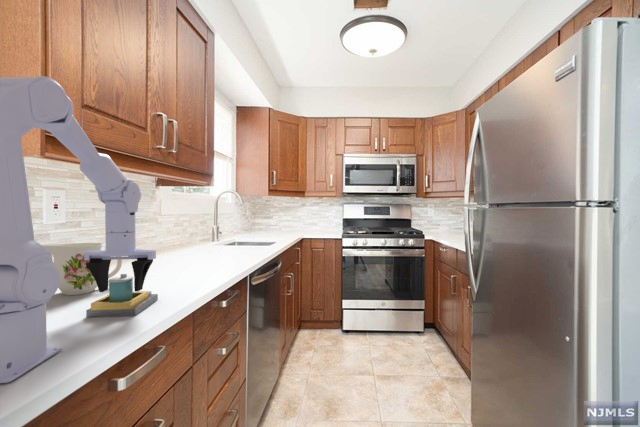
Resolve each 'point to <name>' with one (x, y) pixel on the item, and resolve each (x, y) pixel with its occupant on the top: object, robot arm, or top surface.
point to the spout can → (121, 288)
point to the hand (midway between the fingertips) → (121, 290)
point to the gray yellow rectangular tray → (122, 305)
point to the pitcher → (76, 267)
